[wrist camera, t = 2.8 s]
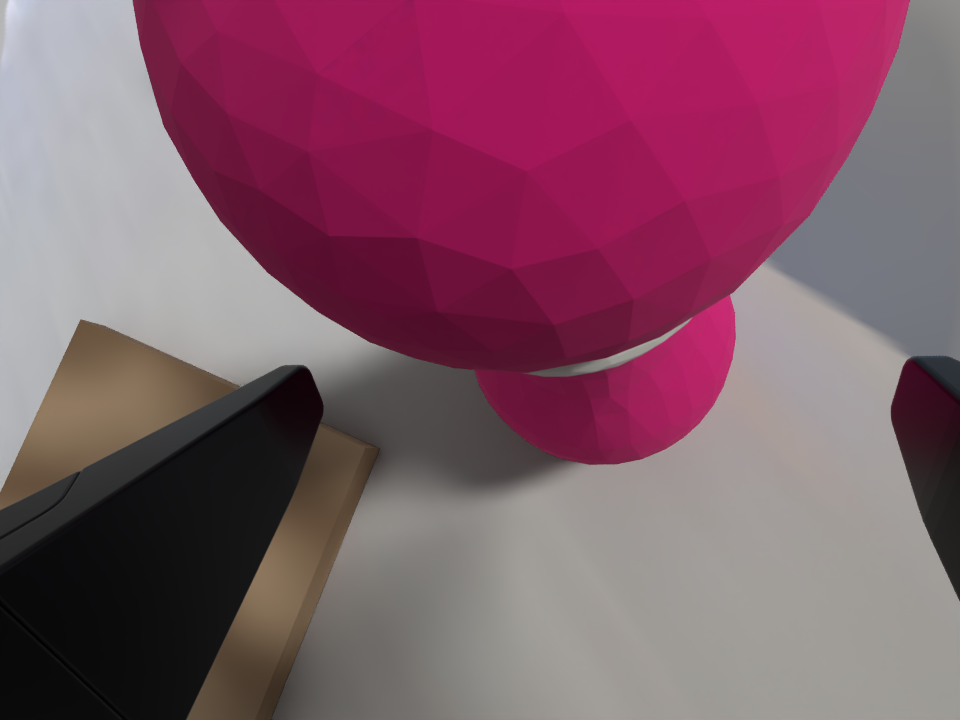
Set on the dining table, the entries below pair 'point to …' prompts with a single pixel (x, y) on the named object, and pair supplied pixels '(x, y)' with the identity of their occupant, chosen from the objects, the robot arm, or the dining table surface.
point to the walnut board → (147, 408)
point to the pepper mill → (525, 178)
